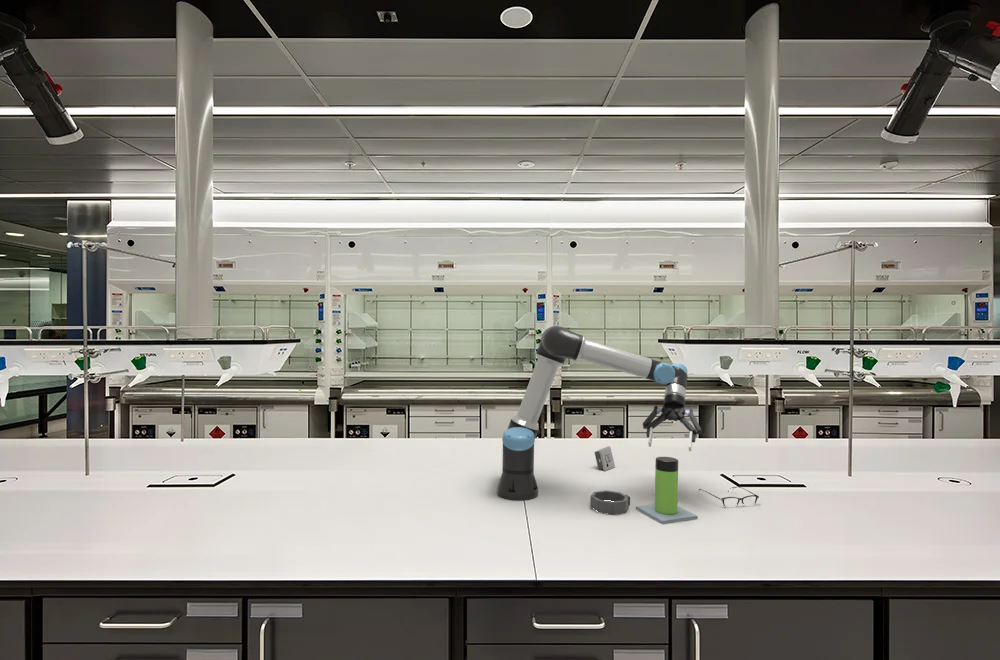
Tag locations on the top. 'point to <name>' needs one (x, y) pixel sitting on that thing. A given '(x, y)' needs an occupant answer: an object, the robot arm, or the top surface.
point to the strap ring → (609, 502)
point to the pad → (666, 518)
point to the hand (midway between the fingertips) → (669, 446)
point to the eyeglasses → (736, 497)
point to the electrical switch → (604, 458)
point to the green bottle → (666, 485)
